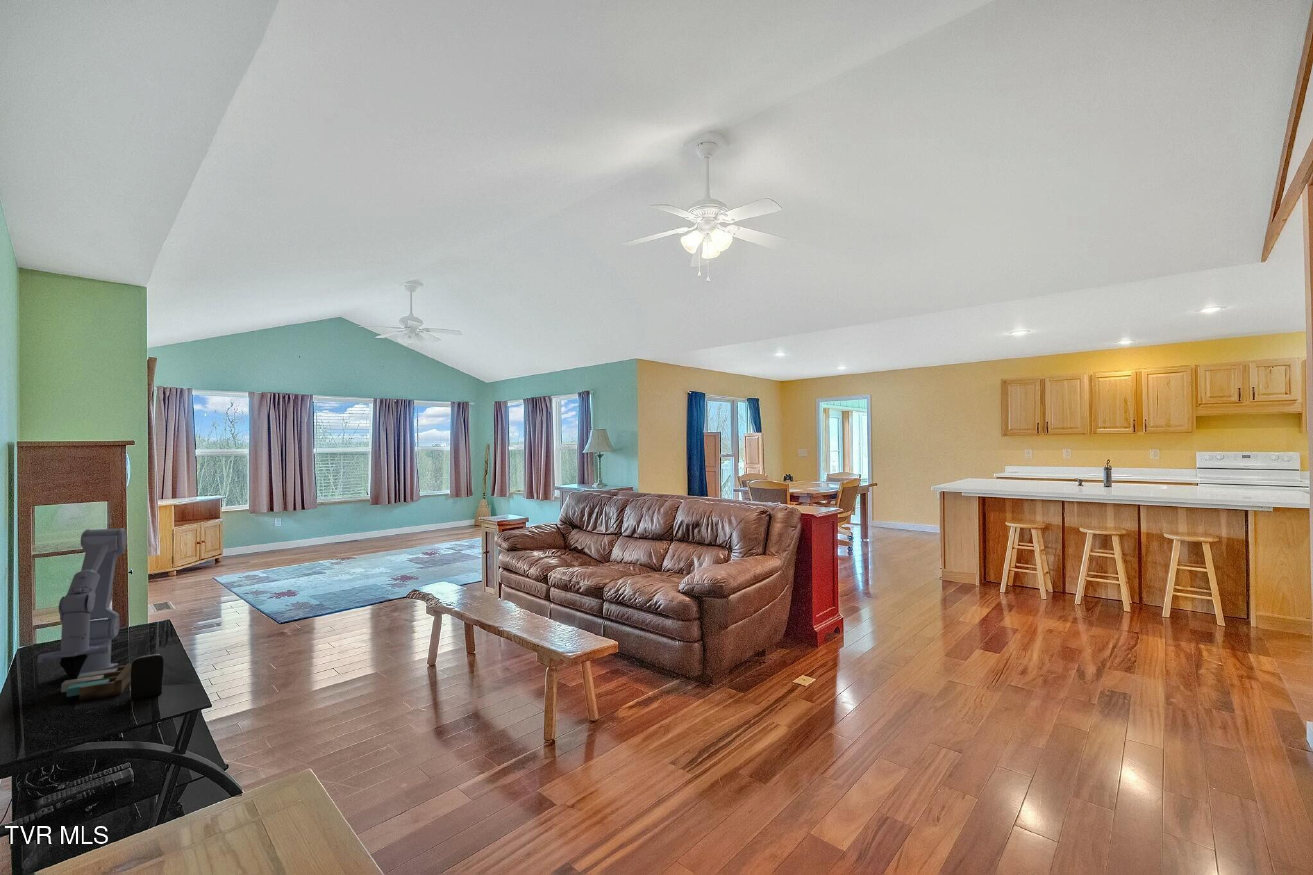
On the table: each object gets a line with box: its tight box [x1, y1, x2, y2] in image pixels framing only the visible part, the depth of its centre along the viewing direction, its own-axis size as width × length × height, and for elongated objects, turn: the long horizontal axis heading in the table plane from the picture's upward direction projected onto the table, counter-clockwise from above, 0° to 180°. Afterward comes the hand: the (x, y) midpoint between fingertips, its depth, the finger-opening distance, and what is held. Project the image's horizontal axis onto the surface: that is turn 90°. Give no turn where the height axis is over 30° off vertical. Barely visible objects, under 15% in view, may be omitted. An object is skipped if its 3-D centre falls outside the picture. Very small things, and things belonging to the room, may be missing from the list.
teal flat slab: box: [66, 679, 110, 698], centre depth 157 cm, size 8×3×2 cm, turn 124°
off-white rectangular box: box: [60, 675, 104, 693], centre depth 160 cm, size 8×3×2 cm, turn 124°
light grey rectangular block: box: [77, 668, 118, 679], centre depth 166 cm, size 8×3×2 cm, turn 124°
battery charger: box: [129, 652, 165, 701], centre depth 158 cm, size 7×4×11 cm, turn 133°
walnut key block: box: [78, 662, 132, 701], centre depth 163 cm, size 8×16×4 cm, turn 34°
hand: (73, 682), depth 163 cm, fingers closed
